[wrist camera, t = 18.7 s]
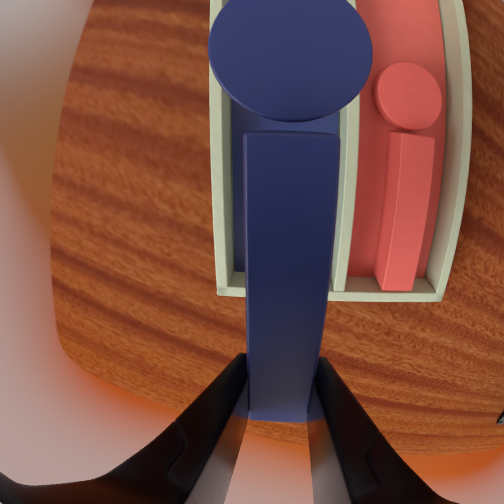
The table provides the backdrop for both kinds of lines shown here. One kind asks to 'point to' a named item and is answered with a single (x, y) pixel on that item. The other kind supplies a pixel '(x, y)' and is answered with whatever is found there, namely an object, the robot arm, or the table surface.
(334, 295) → the cutlery tray
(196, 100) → the table surface
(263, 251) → the spoon navy
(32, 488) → the robot arm
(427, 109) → the spoon coral
